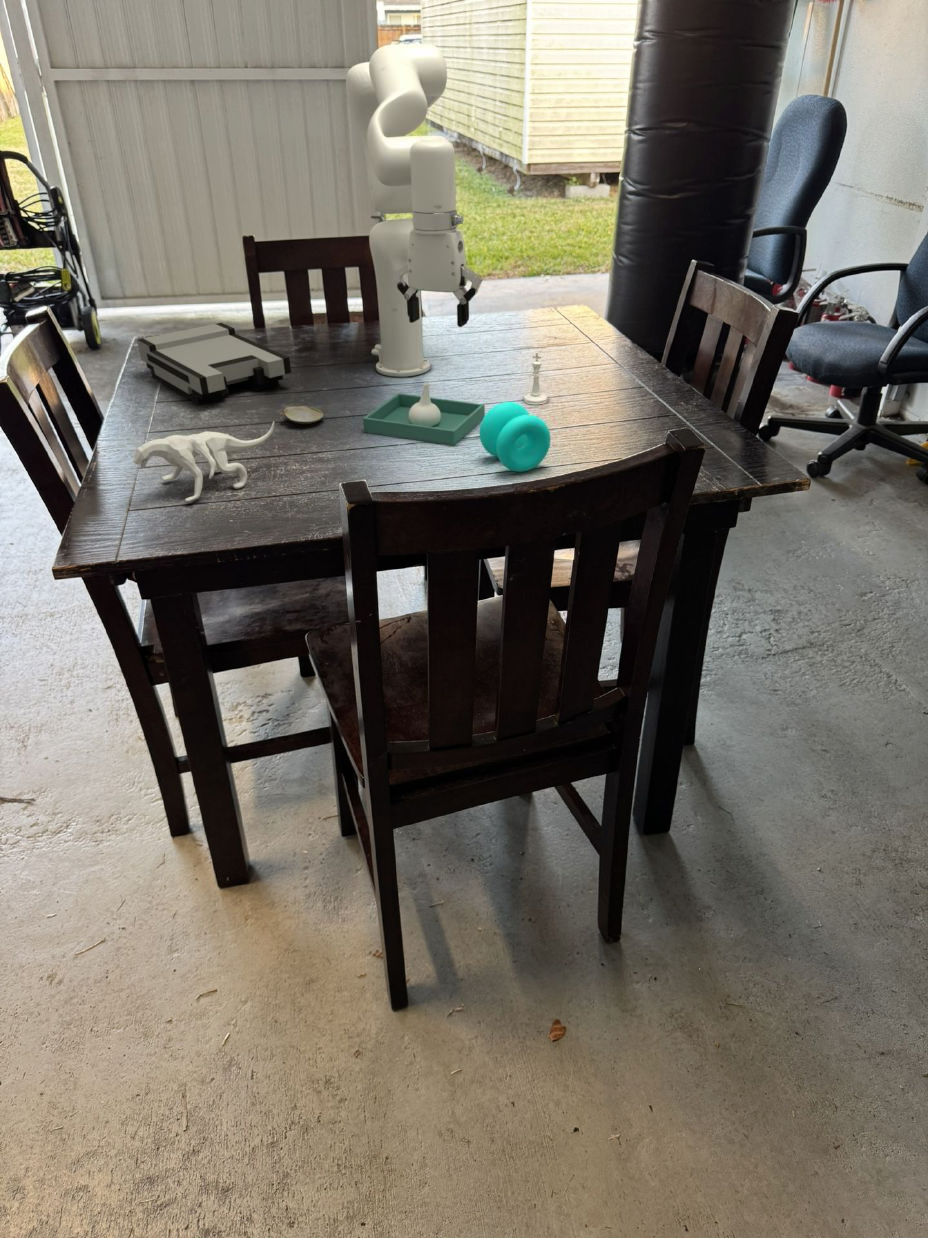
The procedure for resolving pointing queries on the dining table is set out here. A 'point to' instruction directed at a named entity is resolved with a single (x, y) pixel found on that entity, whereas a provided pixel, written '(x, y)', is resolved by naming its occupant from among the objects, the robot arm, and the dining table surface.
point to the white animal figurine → (205, 444)
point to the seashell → (302, 414)
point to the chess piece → (536, 385)
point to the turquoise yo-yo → (514, 436)
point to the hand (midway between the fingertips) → (438, 322)
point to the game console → (211, 362)
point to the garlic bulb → (425, 410)
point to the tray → (448, 431)
